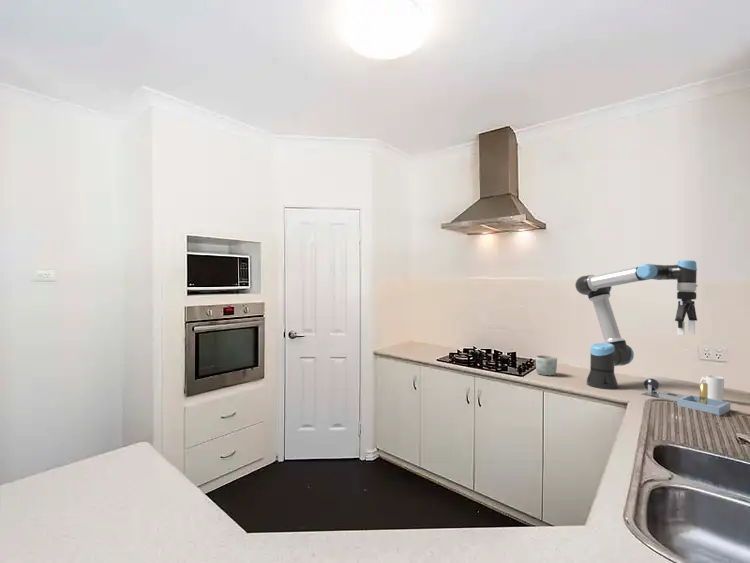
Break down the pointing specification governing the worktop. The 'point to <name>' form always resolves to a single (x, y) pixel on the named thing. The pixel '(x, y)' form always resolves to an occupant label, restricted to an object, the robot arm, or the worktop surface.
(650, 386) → the tensioner
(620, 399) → the worktop surface
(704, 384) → the pin
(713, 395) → the mug
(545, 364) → the planter
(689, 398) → the tray
